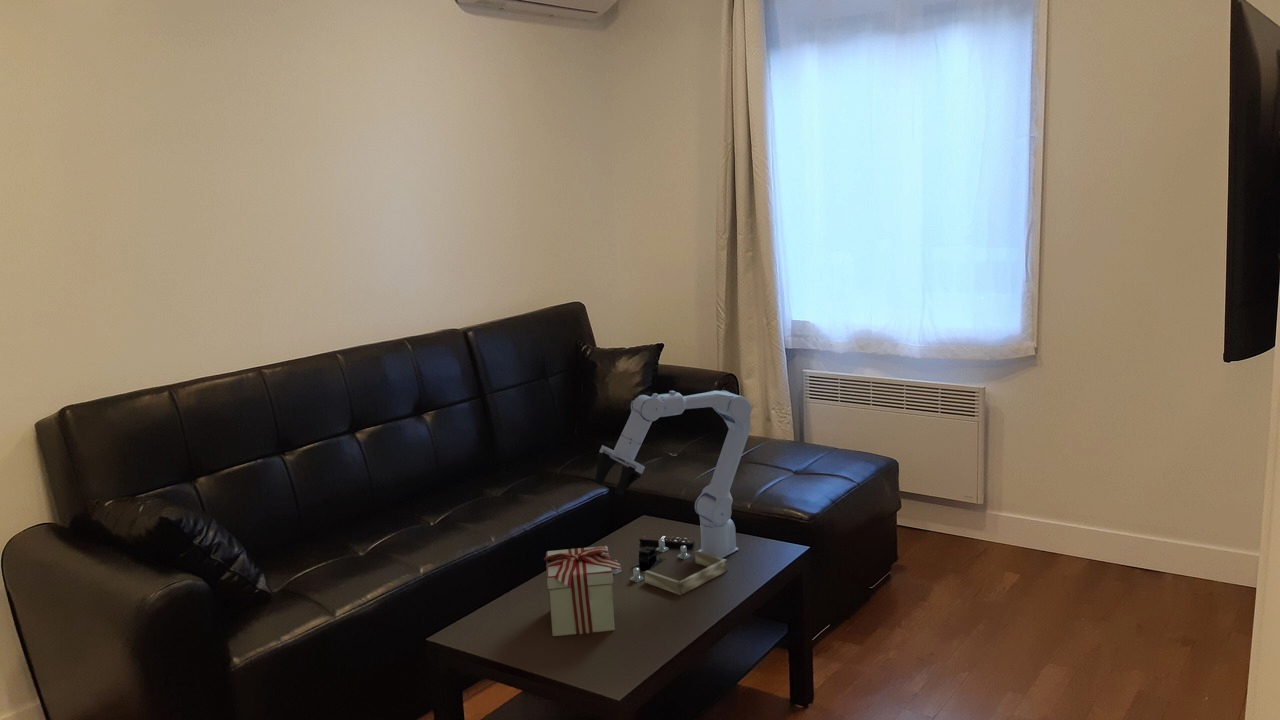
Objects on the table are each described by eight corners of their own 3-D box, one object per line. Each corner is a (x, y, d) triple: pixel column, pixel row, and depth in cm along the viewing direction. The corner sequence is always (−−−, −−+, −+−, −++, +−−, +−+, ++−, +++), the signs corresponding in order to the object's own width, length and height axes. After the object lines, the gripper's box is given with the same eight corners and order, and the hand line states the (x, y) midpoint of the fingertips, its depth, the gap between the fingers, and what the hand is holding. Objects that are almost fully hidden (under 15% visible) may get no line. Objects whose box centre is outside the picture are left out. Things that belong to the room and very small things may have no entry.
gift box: (553, 646, 210) (547, 573, 207) (545, 610, 228) (539, 542, 224) (629, 634, 213) (624, 563, 210) (615, 600, 231) (610, 533, 227)
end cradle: (692, 559, 252) (691, 549, 252) (727, 570, 244) (726, 559, 243) (645, 582, 240) (644, 571, 239) (680, 595, 231) (679, 583, 231)
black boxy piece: (646, 577, 245) (645, 560, 244) (623, 572, 249) (622, 555, 248) (671, 559, 255) (670, 543, 254) (648, 554, 259) (647, 538, 258)
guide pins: (662, 547, 261) (661, 537, 261) (690, 556, 254) (689, 546, 254) (608, 572, 247) (607, 561, 247) (636, 582, 240) (636, 571, 240)
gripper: (602, 426, 241) (579, 474, 240) (641, 445, 231) (617, 495, 230) (619, 434, 246) (596, 481, 245) (657, 453, 236) (634, 502, 235)
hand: (607, 488), depth 238 cm, fingers open, 7 cm apart
